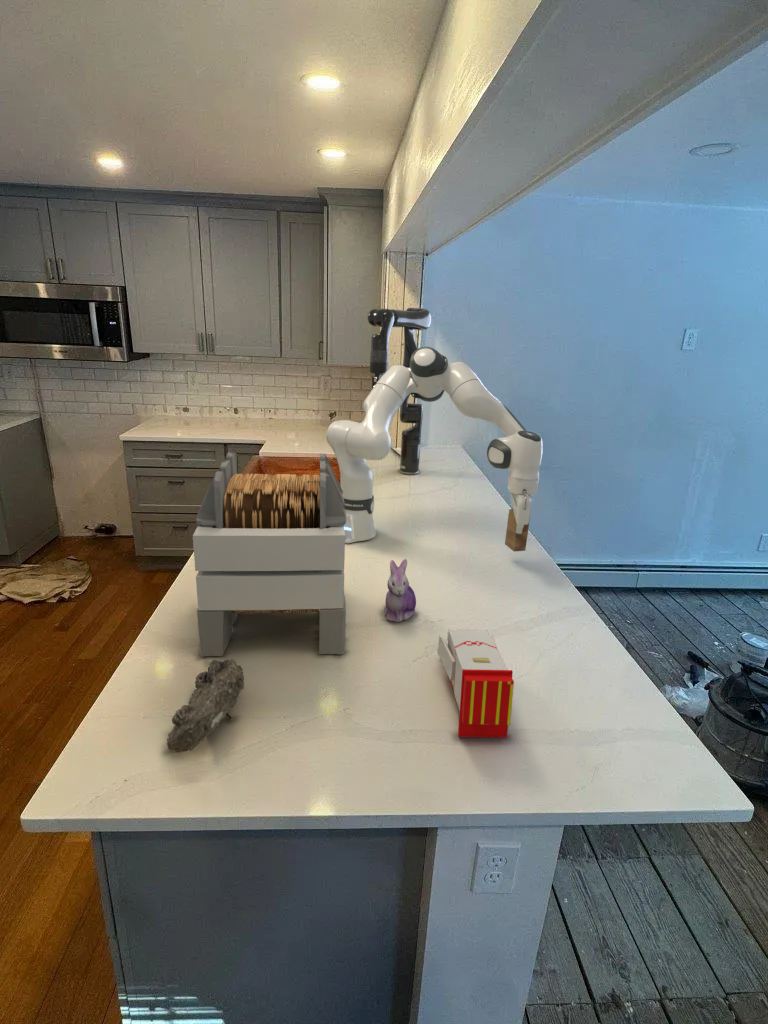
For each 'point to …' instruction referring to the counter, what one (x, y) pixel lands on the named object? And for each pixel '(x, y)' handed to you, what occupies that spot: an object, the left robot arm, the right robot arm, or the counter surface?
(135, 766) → the counter surface
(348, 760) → the counter surface
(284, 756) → the counter surface
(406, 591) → the figurine
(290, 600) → the record crate
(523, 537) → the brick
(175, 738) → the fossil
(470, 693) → the toy
